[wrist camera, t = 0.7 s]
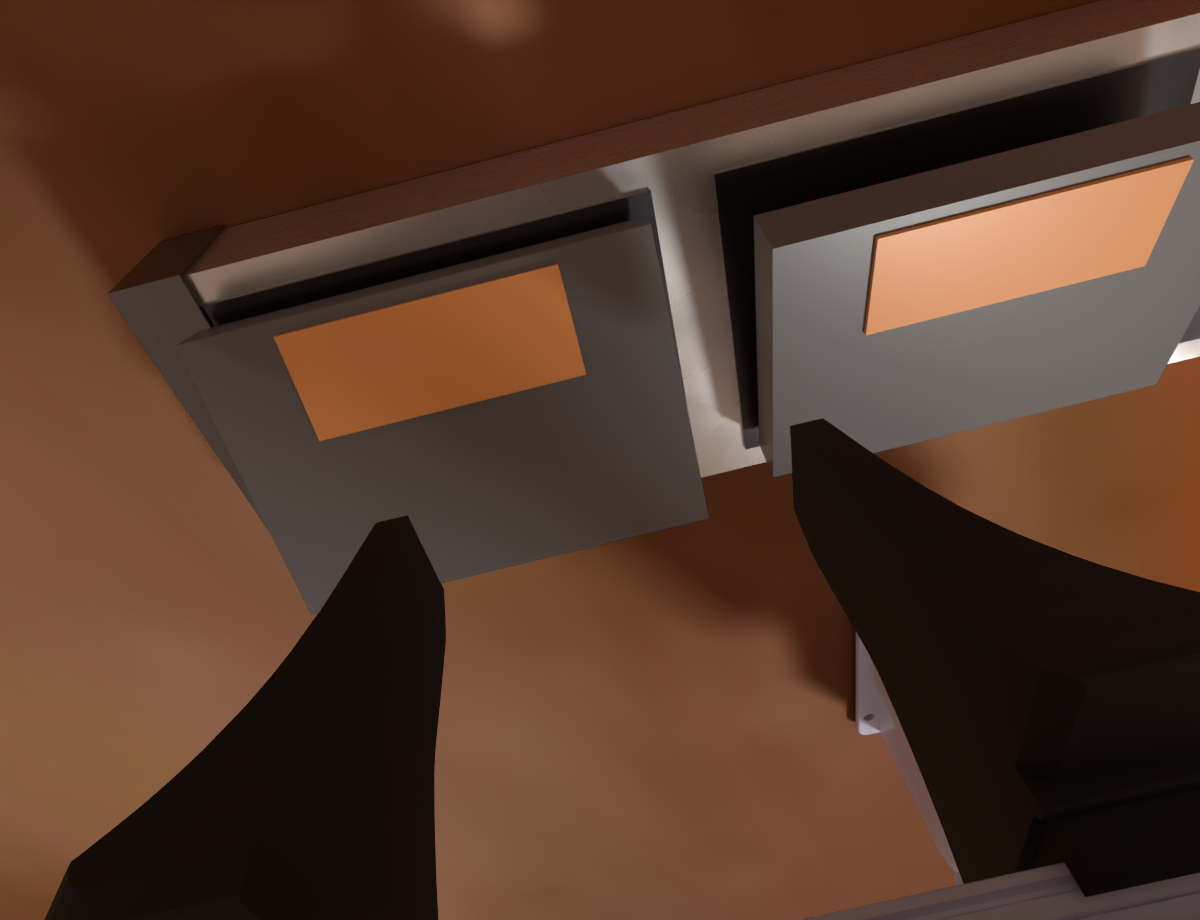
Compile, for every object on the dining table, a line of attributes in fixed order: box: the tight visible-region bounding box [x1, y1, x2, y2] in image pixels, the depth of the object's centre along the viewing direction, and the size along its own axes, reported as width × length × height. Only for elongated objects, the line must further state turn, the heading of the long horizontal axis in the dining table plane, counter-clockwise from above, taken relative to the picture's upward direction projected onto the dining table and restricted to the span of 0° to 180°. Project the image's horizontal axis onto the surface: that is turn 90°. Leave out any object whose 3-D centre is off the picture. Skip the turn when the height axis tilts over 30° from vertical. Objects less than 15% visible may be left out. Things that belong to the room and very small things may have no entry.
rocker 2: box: [754, 102, 1200, 477], centre depth 17 cm, size 7×10×2 cm
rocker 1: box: [176, 217, 709, 615], centre depth 17 cm, size 7×10×2 cm
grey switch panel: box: [108, 0, 1200, 531], centre depth 19 cm, size 9×37×3 cm, turn 102°
